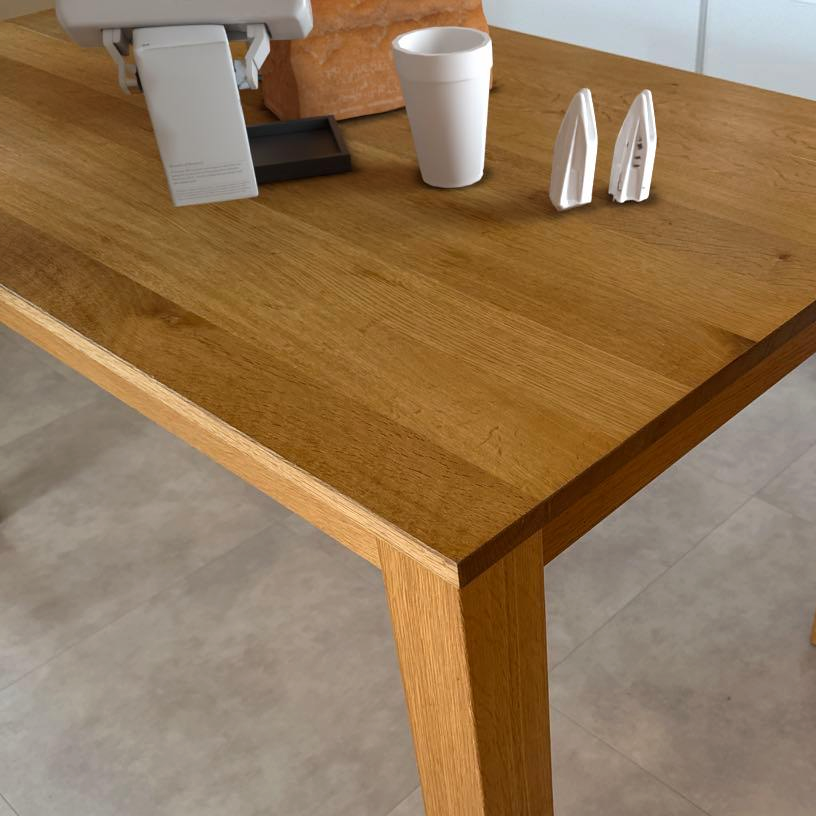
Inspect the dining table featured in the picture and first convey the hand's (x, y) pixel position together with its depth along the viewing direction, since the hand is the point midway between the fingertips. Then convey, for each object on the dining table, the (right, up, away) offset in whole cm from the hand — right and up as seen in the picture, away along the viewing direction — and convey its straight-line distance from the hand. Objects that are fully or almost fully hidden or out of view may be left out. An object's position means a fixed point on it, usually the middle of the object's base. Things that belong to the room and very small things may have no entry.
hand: (190, 88), depth 83 cm
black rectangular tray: (+1, +4, +27) cm, 27 cm away
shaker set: (+35, -5, +16) cm, 38 cm away
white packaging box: (0, -6, +6) cm, 9 cm away
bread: (+9, +17, +41) cm, 45 cm away
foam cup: (+20, +1, +22) cm, 29 cm away
